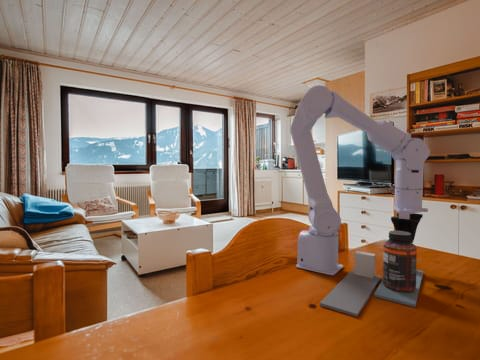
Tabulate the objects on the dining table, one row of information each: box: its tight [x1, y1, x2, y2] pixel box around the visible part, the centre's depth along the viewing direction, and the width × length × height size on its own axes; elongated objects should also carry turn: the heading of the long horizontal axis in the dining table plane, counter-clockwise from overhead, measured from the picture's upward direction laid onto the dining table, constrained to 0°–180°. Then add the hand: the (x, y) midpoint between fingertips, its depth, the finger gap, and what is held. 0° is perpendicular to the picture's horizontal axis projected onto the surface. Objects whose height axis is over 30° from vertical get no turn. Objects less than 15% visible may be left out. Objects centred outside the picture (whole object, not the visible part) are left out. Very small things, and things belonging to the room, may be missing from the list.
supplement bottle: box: [382, 230, 418, 292], centre depth 57 cm, size 6×6×11 cm
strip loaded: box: [373, 269, 424, 308], centre depth 60 cm, size 7×21×6 cm, turn 143°
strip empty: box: [319, 250, 382, 318], centre depth 56 cm, size 6×21×6 cm, turn 143°
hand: (406, 245), depth 67 cm, fingers open, 7 cm apart
